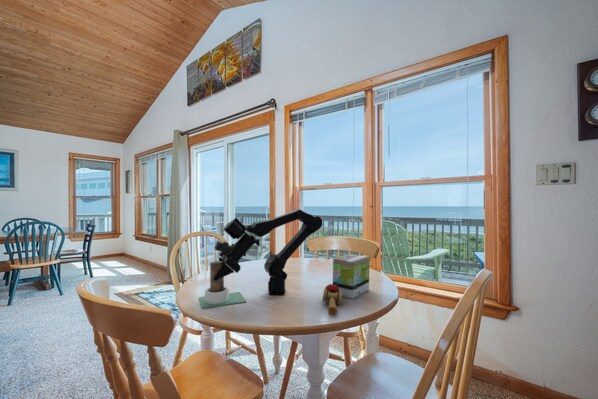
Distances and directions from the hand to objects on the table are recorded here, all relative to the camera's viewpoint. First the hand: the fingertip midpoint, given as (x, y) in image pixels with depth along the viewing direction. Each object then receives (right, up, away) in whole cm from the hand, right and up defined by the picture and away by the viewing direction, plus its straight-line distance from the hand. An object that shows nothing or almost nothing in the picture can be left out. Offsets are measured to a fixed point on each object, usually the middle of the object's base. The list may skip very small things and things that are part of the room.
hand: (213, 277), depth 108 cm
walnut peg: (+1, -7, 0) cm, 7 cm away
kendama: (+45, -9, -5) cm, 46 cm away
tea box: (+55, -9, +10) cm, 57 cm away
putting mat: (+3, -9, +1) cm, 10 cm away
